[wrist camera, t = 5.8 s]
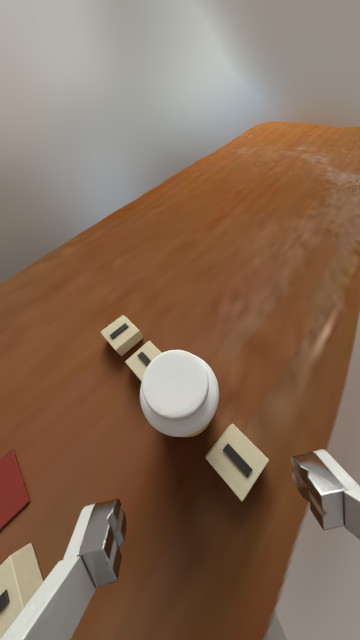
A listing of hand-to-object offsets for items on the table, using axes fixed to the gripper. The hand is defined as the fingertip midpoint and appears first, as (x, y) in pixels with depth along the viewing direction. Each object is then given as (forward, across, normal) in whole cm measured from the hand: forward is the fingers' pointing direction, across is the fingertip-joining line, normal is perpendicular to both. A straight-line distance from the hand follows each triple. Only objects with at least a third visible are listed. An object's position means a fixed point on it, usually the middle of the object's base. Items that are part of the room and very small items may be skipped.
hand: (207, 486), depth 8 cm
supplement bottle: (+10, +1, +4) cm, 11 cm away
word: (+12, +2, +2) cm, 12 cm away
